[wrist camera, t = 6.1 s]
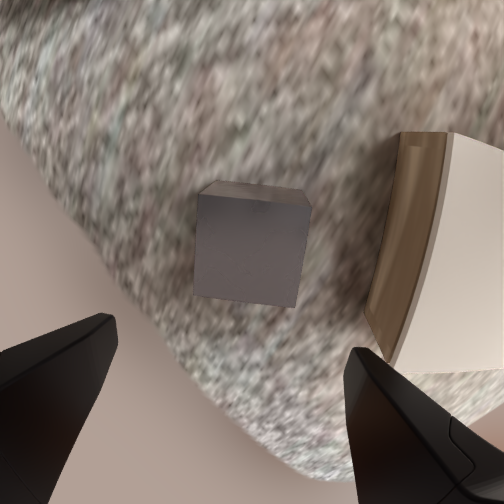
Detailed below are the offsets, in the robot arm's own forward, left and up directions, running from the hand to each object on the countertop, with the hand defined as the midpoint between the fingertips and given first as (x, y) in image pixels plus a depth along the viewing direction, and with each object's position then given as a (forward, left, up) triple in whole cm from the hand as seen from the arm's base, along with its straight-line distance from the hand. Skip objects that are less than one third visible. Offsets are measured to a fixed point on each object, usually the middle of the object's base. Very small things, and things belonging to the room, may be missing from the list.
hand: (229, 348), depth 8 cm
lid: (-15, -1, -6) cm, 16 cm away
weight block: (0, 0, -12) cm, 12 cm away
